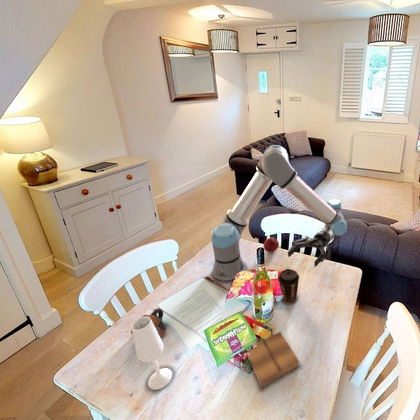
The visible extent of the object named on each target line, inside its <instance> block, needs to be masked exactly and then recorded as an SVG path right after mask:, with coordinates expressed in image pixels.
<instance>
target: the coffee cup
mask: <svg viewBox="0 0 420 420" xmlns="http://www.w3.org/2000/svg"><path fill="white" fill-rule="evenodd" d="M299 279H300V275H299V273H298V272H297V271H296V270H295V269H291V268H285V269H284V270H282V271H281V272H279V274H278V278H277V281H278V283H279V289H280V293H281V292H282V294H281V296H282V295H283V299H282V298H281V300H282V302H283V303H284V304H293V303H295V302H296V301H297V295H298V289H299Z"/></svg>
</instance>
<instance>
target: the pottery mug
mask: <svg viewBox="0 0 420 420" xmlns="http://www.w3.org/2000/svg"><path fill="white" fill-rule="evenodd" d="M145 316H147V317H150V318H151V320H152V322H153V324H154V326H155V328H156V329H157V328H159V331H157V332H158V334H159V336H160V338H162V337H163V336H164V334H165V332H166V328H167V327H166V324H165V323H164V321H163V317H164V310H163V309H162V308H156V309H154V310H153V311H152V312H151V313H150V314H143V315H141V316H140V317H139V318H141V317H145ZM130 334H131V335H132V336H133V333H132V328H131V330H130Z"/></svg>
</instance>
